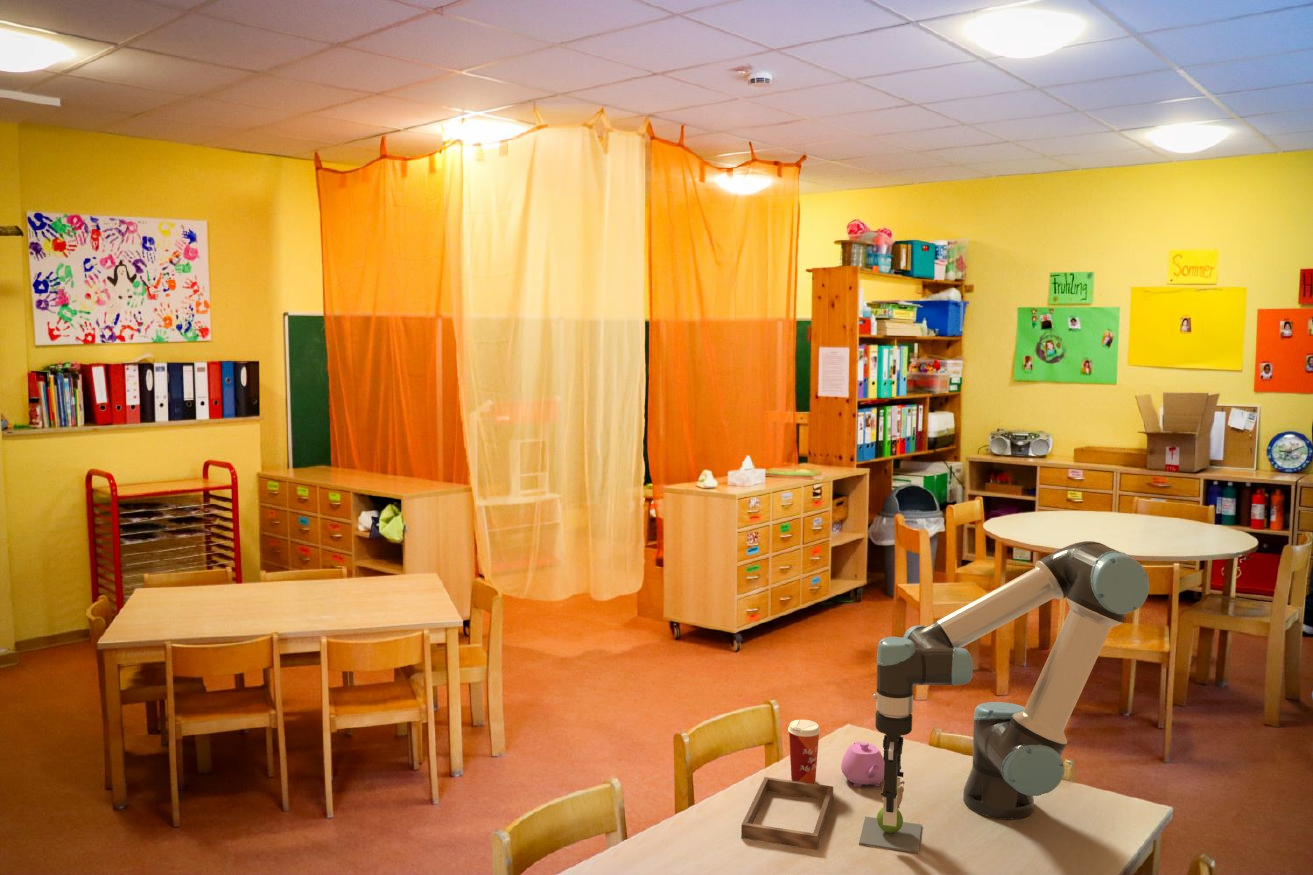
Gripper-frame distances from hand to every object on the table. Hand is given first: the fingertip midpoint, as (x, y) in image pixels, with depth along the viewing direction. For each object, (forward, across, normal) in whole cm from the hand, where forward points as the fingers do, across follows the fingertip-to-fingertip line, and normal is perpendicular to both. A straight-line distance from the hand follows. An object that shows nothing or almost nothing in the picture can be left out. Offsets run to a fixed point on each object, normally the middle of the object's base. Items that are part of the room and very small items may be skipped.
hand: (891, 815), depth 212 cm
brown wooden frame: (+4, -1, -22) cm, 22 cm away
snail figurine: (+4, 0, 0) cm, 4 cm away
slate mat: (+4, 0, 0) cm, 4 cm away
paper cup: (+5, -20, -22) cm, 30 cm away
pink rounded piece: (+5, -24, -8) cm, 26 cm away
